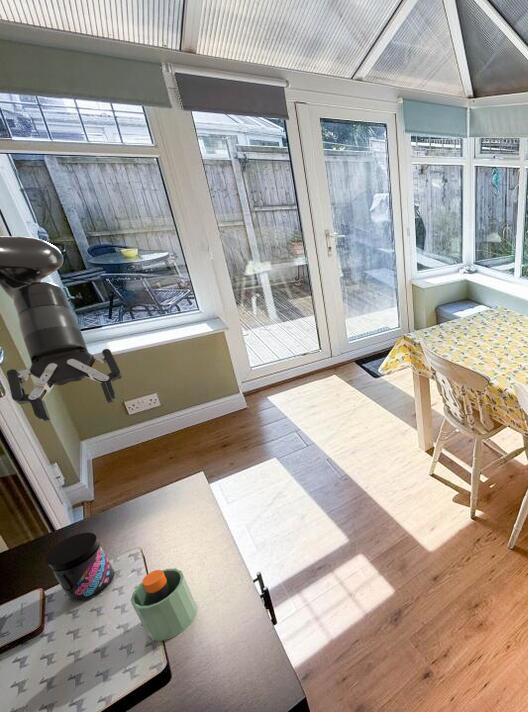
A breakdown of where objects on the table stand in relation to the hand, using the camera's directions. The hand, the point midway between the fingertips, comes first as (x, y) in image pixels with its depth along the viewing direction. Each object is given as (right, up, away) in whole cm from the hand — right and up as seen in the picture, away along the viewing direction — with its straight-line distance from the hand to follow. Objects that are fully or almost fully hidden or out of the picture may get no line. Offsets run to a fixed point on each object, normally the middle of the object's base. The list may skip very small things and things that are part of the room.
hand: (79, 410), depth 76 cm
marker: (+19, -37, -2) cm, 42 cm away
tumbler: (+19, -38, -2) cm, 42 cm away
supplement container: (-1, -35, +3) cm, 35 cm away
